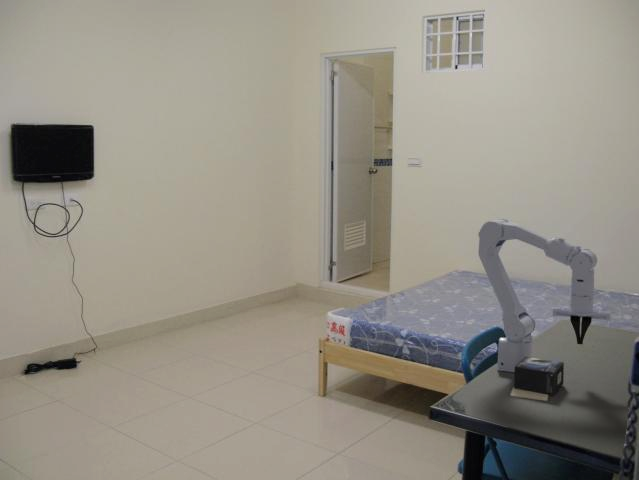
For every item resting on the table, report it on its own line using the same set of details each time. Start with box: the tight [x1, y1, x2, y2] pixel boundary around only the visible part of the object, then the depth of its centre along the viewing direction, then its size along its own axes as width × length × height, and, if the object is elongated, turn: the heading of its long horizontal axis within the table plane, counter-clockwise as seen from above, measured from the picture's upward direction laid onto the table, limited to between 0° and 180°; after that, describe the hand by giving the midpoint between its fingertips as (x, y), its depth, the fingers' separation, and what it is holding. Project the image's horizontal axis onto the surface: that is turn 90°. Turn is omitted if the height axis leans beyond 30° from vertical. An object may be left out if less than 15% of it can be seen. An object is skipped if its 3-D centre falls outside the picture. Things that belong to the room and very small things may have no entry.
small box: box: [513, 357, 565, 396], centre depth 171 cm, size 11×6×10 cm
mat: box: [509, 386, 549, 402], centre depth 170 cm, size 9×14×1 cm, turn 157°
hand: (579, 343), depth 175 cm, fingers closed
